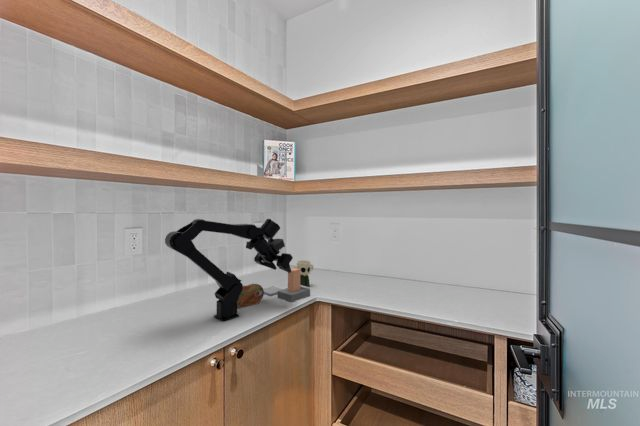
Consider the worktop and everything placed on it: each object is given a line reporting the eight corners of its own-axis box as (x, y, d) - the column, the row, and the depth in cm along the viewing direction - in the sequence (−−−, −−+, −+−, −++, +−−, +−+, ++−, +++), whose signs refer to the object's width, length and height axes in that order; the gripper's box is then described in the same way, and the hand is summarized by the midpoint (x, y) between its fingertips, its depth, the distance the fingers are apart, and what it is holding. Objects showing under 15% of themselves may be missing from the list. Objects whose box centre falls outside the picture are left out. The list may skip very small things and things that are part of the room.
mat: (270, 296, 125) (270, 293, 125) (258, 292, 131) (258, 290, 131) (285, 291, 132) (285, 289, 132) (272, 288, 138) (272, 286, 138)
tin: (229, 310, 107) (229, 289, 107) (226, 308, 109) (226, 287, 109) (264, 302, 116) (264, 282, 116) (260, 300, 119) (260, 281, 119)
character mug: (296, 289, 136) (296, 263, 135) (291, 286, 142) (291, 261, 142) (316, 287, 141) (316, 261, 141) (309, 283, 147) (310, 259, 147)
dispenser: (291, 302, 117) (291, 292, 117) (277, 297, 123) (277, 288, 123) (310, 295, 126) (310, 286, 126) (296, 291, 132) (296, 283, 132)
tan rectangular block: (293, 298, 122) (293, 270, 122) (287, 297, 124) (288, 269, 124) (300, 296, 125) (300, 269, 125) (294, 294, 127) (295, 268, 127)
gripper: (289, 234, 109) (307, 258, 118) (259, 231, 121) (278, 253, 129) (274, 256, 103) (294, 280, 112) (244, 251, 115) (265, 273, 123)
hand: (283, 270), depth 119 cm, fingers open, 9 cm apart
